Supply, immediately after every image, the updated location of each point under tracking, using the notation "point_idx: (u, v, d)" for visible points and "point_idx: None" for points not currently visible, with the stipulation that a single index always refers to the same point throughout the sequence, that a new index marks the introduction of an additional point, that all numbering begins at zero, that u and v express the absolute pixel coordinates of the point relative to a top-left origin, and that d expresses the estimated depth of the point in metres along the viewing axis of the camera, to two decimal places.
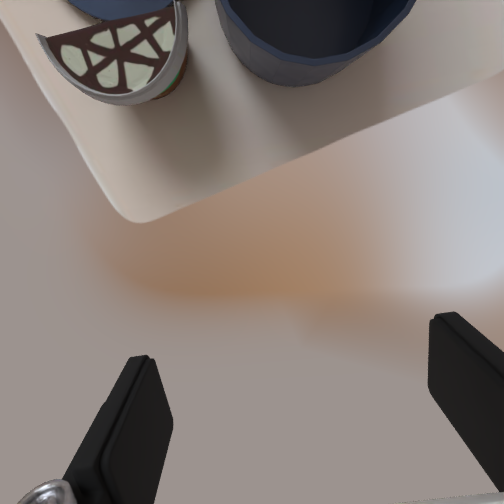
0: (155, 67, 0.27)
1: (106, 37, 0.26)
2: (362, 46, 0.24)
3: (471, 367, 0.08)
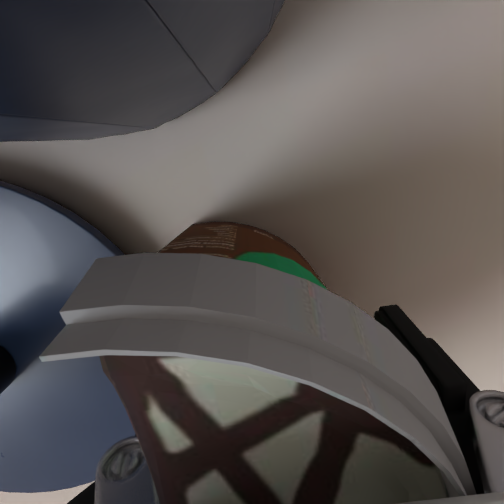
0: (362, 428, 0.06)
1: None
2: None
3: None
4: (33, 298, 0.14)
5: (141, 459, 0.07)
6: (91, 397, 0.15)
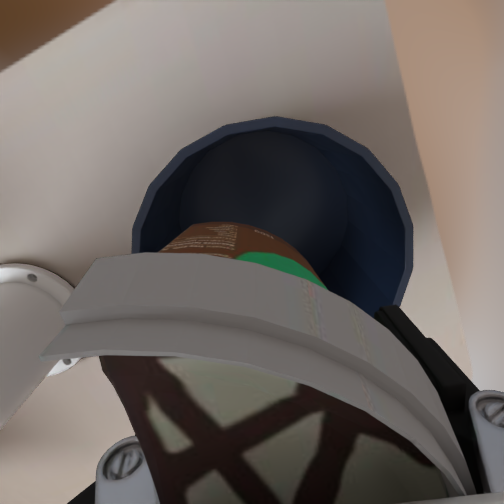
0: (362, 428, 0.06)
1: None
2: (399, 208, 0.18)
3: None
4: None
5: (141, 459, 0.07)
6: None
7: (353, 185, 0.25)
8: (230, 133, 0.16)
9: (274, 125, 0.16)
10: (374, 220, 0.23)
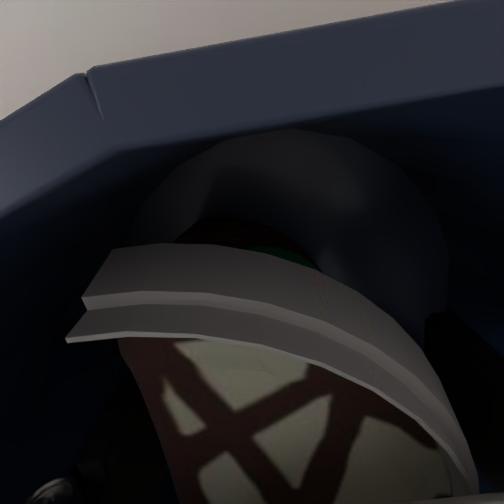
0: (368, 411, 0.06)
1: None
2: None
3: (465, 365, 0.08)
4: None
5: (67, 502, 0.07)
6: None
7: None
8: (136, 139, 0.02)
9: None
10: None
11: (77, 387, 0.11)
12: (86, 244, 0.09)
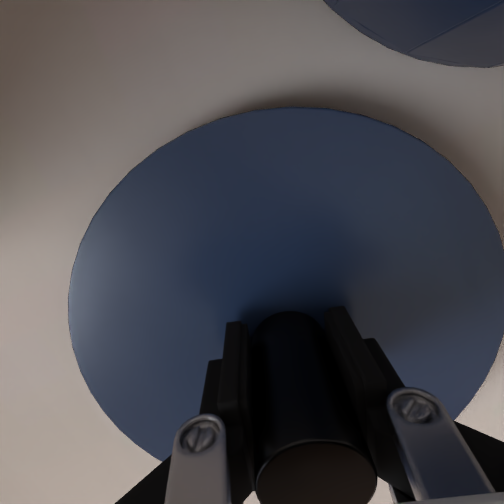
0: None
1: None
2: None
3: (339, 352, 0.10)
4: (373, 263, 0.12)
5: (214, 435, 0.08)
6: None
7: None
8: None
9: None
10: None
11: None
12: None
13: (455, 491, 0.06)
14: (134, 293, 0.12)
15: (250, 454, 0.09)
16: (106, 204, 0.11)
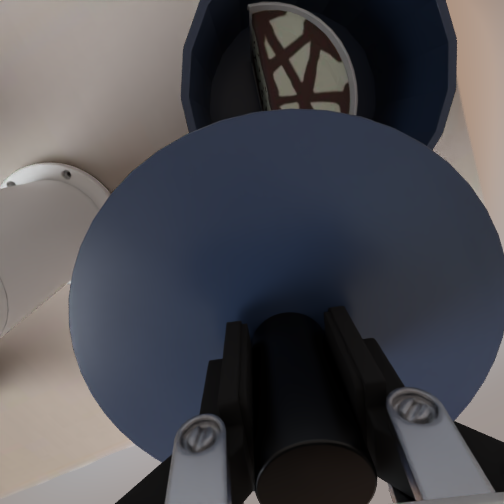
0: (321, 47, 0.21)
1: None
2: (443, 19, 0.18)
3: (338, 352, 0.10)
4: (373, 264, 0.12)
5: (214, 435, 0.08)
6: None
7: (385, 50, 0.25)
8: None
9: None
10: (409, 72, 0.23)
11: (206, 118, 0.26)
12: (217, 41, 0.24)
13: (454, 491, 0.06)
14: (134, 294, 0.12)
15: (250, 454, 0.09)
16: (106, 205, 0.11)
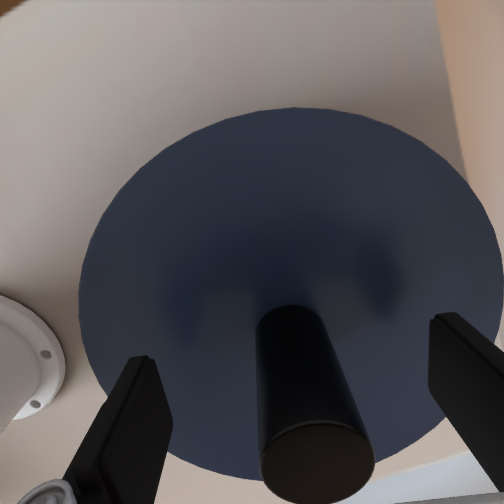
0: None
1: None
2: None
3: (471, 367, 0.08)
4: (372, 258, 0.12)
5: None
6: (394, 374, 0.14)
7: None
8: None
9: None
10: None
11: None
12: None
13: None
14: (142, 287, 0.12)
15: None
16: (115, 201, 0.11)
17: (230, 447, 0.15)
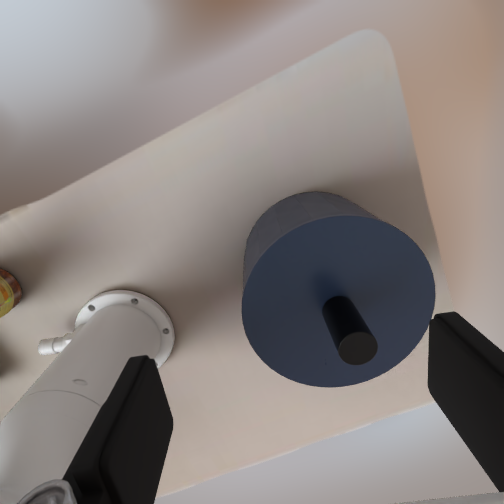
0: None
1: None
2: None
3: (471, 367, 0.08)
4: (376, 275, 0.27)
5: None
6: (386, 329, 0.29)
7: None
8: None
9: None
10: None
11: None
12: None
13: None
14: (273, 288, 0.27)
15: None
16: (267, 251, 0.26)
17: (305, 367, 0.30)
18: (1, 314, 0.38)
